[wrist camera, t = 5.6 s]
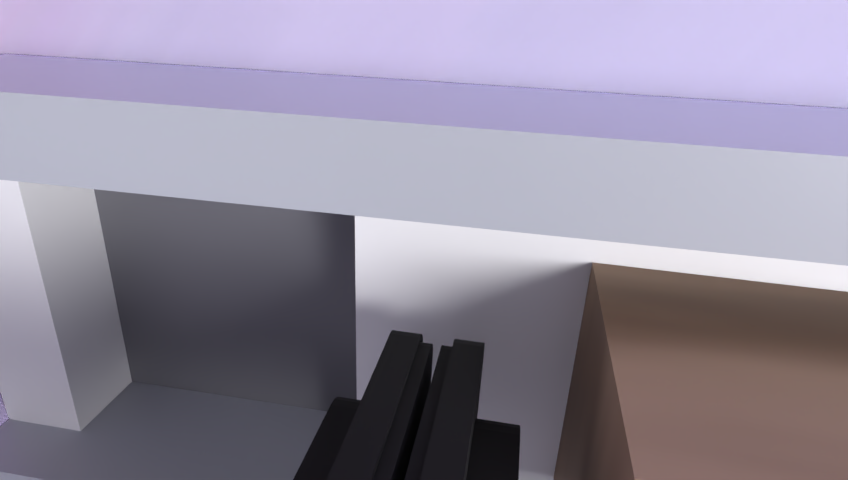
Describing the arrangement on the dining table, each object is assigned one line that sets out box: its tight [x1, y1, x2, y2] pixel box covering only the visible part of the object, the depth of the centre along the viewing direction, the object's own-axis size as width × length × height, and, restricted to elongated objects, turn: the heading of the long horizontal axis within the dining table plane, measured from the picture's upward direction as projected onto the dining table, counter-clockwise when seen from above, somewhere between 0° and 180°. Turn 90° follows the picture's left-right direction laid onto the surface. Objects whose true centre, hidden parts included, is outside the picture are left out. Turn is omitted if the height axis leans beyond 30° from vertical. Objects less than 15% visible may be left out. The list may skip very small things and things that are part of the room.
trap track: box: [0, 54, 848, 480], centre depth 11 cm, size 10×35×4 cm, turn 88°
